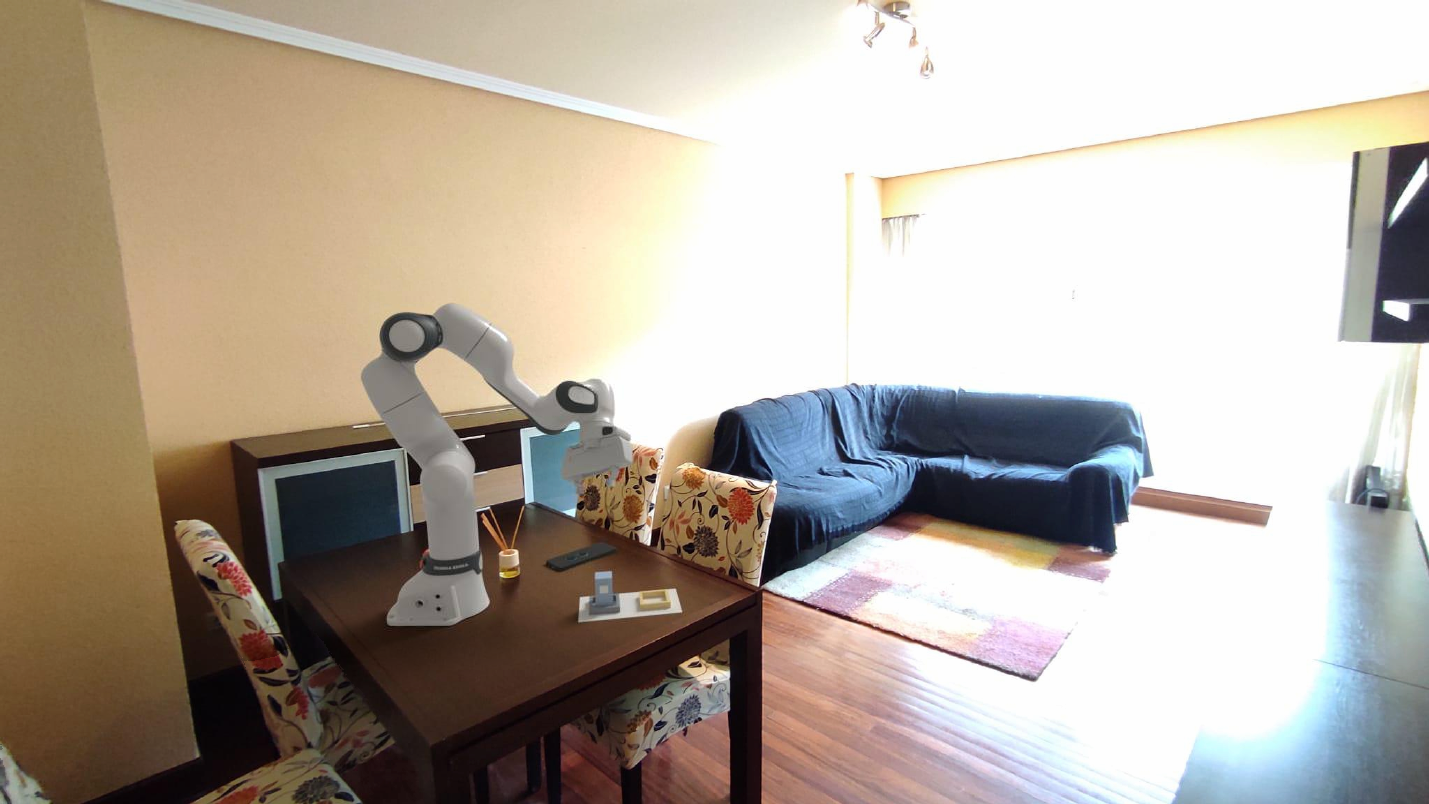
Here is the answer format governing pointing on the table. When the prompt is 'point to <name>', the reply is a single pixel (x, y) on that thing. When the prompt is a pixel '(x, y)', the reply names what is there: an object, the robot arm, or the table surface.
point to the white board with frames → (631, 605)
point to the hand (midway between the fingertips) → (595, 490)
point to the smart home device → (581, 556)
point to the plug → (603, 589)
